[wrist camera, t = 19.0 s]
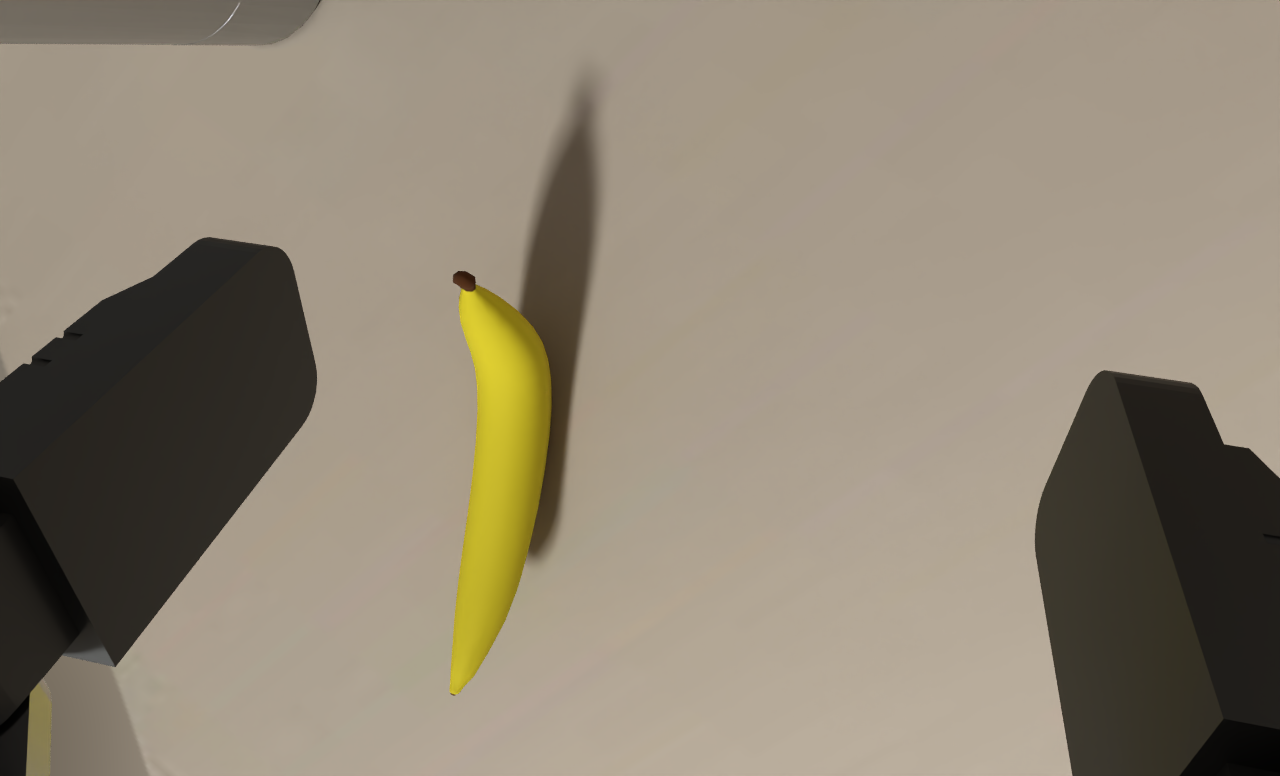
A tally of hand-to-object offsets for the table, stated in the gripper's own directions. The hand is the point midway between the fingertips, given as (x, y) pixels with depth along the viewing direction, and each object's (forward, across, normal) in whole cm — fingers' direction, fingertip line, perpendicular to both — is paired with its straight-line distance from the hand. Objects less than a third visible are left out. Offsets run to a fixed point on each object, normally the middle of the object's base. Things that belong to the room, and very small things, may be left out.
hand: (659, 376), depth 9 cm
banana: (+20, +8, +21) cm, 31 cm away
